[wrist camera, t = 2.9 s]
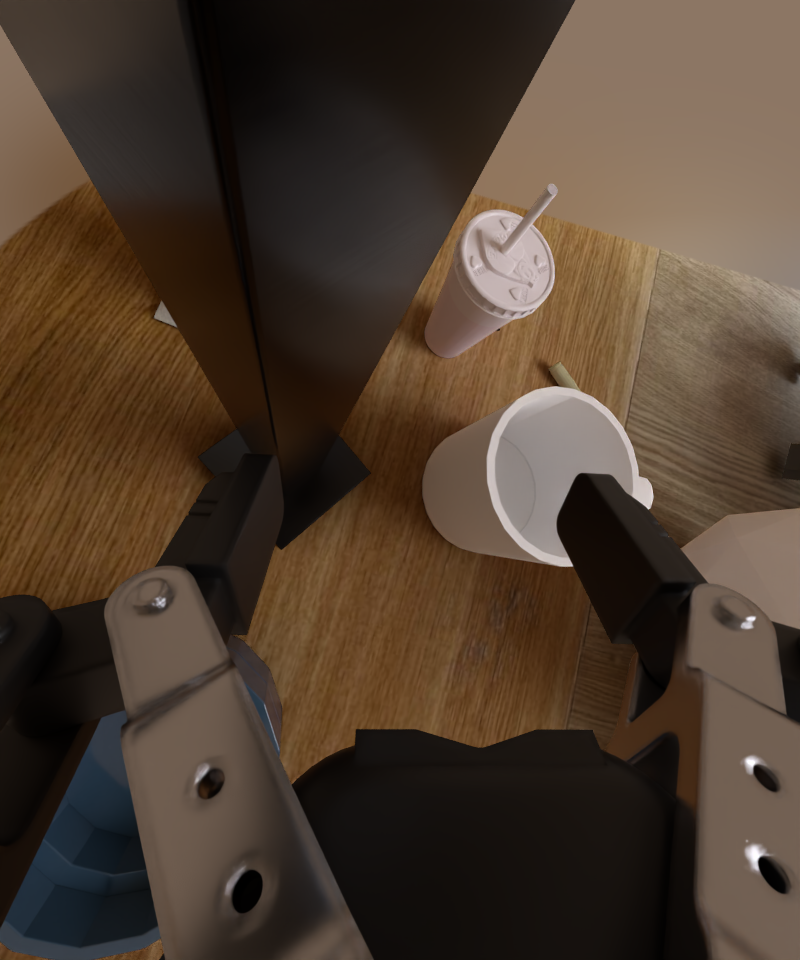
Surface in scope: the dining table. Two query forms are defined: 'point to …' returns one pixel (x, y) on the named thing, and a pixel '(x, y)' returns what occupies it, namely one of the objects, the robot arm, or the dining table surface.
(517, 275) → the smoothie
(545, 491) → the mug
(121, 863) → the bowl
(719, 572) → the geometric sculpture
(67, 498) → the dining table surface
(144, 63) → the black pedestal stand
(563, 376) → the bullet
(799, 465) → the toy robot
